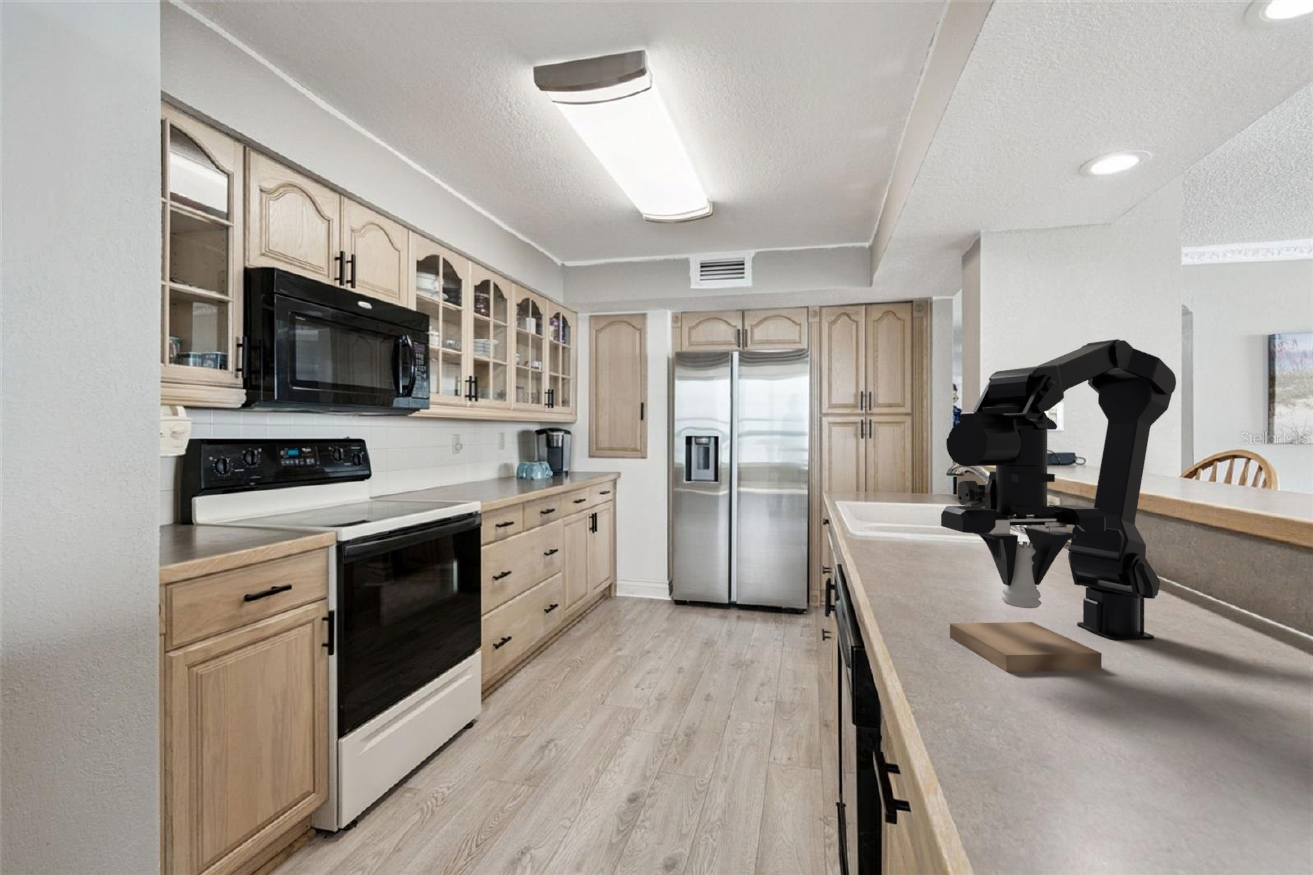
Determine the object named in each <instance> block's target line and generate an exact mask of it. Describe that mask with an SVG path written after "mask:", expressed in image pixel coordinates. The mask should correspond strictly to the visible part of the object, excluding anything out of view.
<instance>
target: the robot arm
mask: <svg viewBox="0 0 1313 875" xmlns="http://www.w3.org/2000/svg"><path fill="white" fill-rule="evenodd" d="M988 381H989V382H988V383H987V384H986V385H985V388H984V389H983V392H982V394H981V396H980V397H979V399H978V401H977V403H976V405H975V406H974V408H973V411H963V412H961V413H960V421H959V422H958V423H957V424H955V425H954V426H953V427H952V429H951V430H950V432H949V434H948V437H946V450H947V453H948V455H949V457H950V458H951V460H952V461H953V462H954V463H956V464H957V465H959V466H961V467H967V468H969V467H991V466H992V467H993V466H994V467H995V471H993V470H992V471H989V474H988V476H987V477H988V478H987V479H988V480H987V483H986V484H978V483H977V481H976V480H962V481H960V482H958V484H957V498H958V499H957V500H958V504H960V505H946V506H945V508H944V509H943V511H942V512H941V514H940V526H941V527H943V528H947V529H949V530H953V531H957V532H960V533H965V534H975V535H978V536H980V538H981V539H982V541H983V542H984V543H985V544H986V546H987V548H988V550H989V552H990V554H991V556H992V559H993V562H994V564H995V566H996V567H995V568H996V569H997V571H998V574H999V577H1000V579H1001V582H1002V584H1004V586H1006V585H1007V586H1010V585H1011V583H1012V579H1013V575H1014V567H1015V558H1016V550H1017V542H1018V541H1019V535H1017V534H1014V533H1011V526H1014V527H1015V526H1031V527H1023V530H1024V532H1025V534H1026V537H1027V538H1028V541H1029V543H1032V544H1033V548H1034V549H1035V551H1036V553H1035V554H1034V555H1033V556H1032V561H1033V562H1034V564H1033V565H1032V573H1033V579H1034V583H1035V585H1036V586H1040V584H1041V583H1042V581H1043V580H1044V578H1045V577H1046V574H1047V573H1048V572H1049V569H1050V568H1051V566H1052V564H1053V563H1054V561H1055V559H1056V558H1057V557H1058V555H1059V553H1060V552H1061V551H1062V549H1064V547H1065V545H1066V544H1067V543H1068V541H1069V540H1071V542H1070V544H1069V547H1068V549H1067V551H1068V555H1067V556H1068V557H1067V558H1068V559H1067V560H1068V564H1069V568H1070V572H1071V576H1072V580H1073V585H1074V586H1078V587H1079V586H1082V587H1085V597H1084V598H1083V600H1082V601H1083V604H1082V609H1083V610H1082V611H1083V612H1082V613H1083V615H1082V618H1083V619H1082V621H1077V622H1076V626H1077V627H1080V628H1082V629H1084V630H1086V631H1089V632H1091V633H1094V634H1096V635H1098V636H1101V637H1104V638H1105V639H1108V640H1111V641H1124V640H1125V641H1126V640H1127V641H1133V640H1154V639H1155V634H1151V633H1148V632H1145V599H1150V600H1154V599H1156V596H1158V594H1159V590H1160V585H1161V580H1160V578H1159V577H1158V575H1157V574H1156V572H1155V570H1154V569H1153V568H1152V566H1151V564H1150V563H1149V561H1148V560H1147V559H1146V553H1147V552H1146V551H1147V548H1146V547H1147V544H1146V542H1145V541H1144V539H1143V537H1142V535H1141V534H1140V532H1139V530H1138V528H1137V526H1136V517H1137V511H1138V506H1139V499H1140V493H1141V486H1142V481H1143V474H1144V469H1145V468H1144V467H1145V463H1146V462H1145V461H1146V456H1147V455H1146V454H1147V449H1148V442H1149V438H1150V437H1149V436H1150V430H1151V427H1152V425H1153V424H1154V423H1155V422H1157V421H1158V419H1160V417H1161V416H1162V415H1164V414H1165V413H1166V412H1167V411H1168V409H1169V406H1170V403H1171V398H1172V395H1173V393H1174V392H1175V389H1176V387H1177V386H1176V385H1177V378H1176V375H1175V373H1174V371H1173V370H1172V369H1171V367H1169V366H1168V365H1167V364H1166V363H1165V362H1164V361H1163V360H1162V359H1161V358H1160V357H1158V356H1155V355H1153V354H1150V353H1148V352H1145V351H1141V350H1139V349H1136V348H1134V347H1133V346H1132V345H1131V344H1130V343H1129V342H1128V341H1126V340H1124V339H1123V340H1121V339H1119V338H1117V339H1115V338H1114V339H1110V340H1109V339H1108V340H1102V341H1094V342H1089V343H1087V344H1084V345H1082V346H1081V347H1080V348H1078V349H1075V350H1072V351H1071V352H1070V351H1069V352H1068V353H1066V354H1063V355H1059V356H1058V357H1056V358H1054V359H1051V360H1049V361H1046V362H1043V363H1041V364H1039V365H1035V366H1028V367H1020V368H1013V369H1005V370H997V371H995V372H994V373H992V374H991V375H990V376H989V378H988ZM1084 382H1087V384H1088V386H1089V387H1090V388H1091V389H1093V390H1094V391H1095V392H1096V393H1097V394H1098V395H1097V396H1098V398H1097V400H1098V401H1097V404H1098V405H1099V407H1100V409H1101V411H1102V413H1103V414H1104V416H1105V417H1106V419H1107V427H1106V430H1105V431H1106V432H1105V439H1104V444H1103V449H1102V450H1103V451H1102V456H1101V460H1100V466H1099V467H1100V468H1099V474H1098V479H1097V486H1096V492H1095V497H1094V503H1093V507H1090V506H1089V507H1088V506H1084V505H1083V506H1082V505H1079V504H1077V505H1076V504H1049V505H1048V483H1055V482H1056V481H1055V480H1056V475H1055V473H1049V472H1048V431H1049V430H1050V431H1051V430H1054V431H1056V430H1057V428H1058V425H1057V423H1056V422H1055V421H1054V420H1053V419H1051V418H1049V416H1048V415H1047V414H1046V413H1047V412H1048V411H1050V410H1051V409H1052V408H1053V407H1055V406H1056V405H1058V404H1059V403H1060V402H1062V401H1063V399H1064V398H1065V392H1066V391H1067V390H1069V389H1072V388H1074V387H1076V386H1077V385H1080V384H1082V383H1083V384H1084ZM1067 526H1073V527H1072V532H1068V527H1067Z"/></svg>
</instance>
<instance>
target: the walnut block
mask: <svg viewBox="0 0 1313 875" xmlns="http://www.w3.org/2000/svg"><path fill="white" fill-rule="evenodd" d="M949 638H950V639H951V640H953V641H954V642H956V643H957V644H959V645H961V646H962V647H964V648H965V649H967V650H969V651H970V652H972V653H974V654H976V655H978V656H979V657H981V658H982V659H984V660H986V661H988V662H989V663H990V664H992V665H994V666H996V667H997V668H999V669H1000V670H1002V671H1004V672H1006V673H1019V672H1020V673H1021V672H1023V673H1025V672H1057V671H1058V672H1059V671H1061V672H1062V671H1066V672H1067V671H1098V670H1099V671H1101V670H1102V656H1103V655H1102V654H1103V653H1102V652H1100V651H1098V650H1095V649H1093V648H1092V647H1088V646H1086V645H1084V644H1082V643H1080V642H1077V641H1075V640H1074V639H1071V638H1068V637H1067V636H1064V635H1062V634H1060V633H1058V632H1056V631H1053V630H1052V629H1049V628H1046V627H1044V626H1042V625H1040V624H1038V623H1035V622H1033V621H1019V622H1007V621H1006V622H964V623H963V622H959V623H955V622H954V623H952V622H951V623H949Z"/></svg>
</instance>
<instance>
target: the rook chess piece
mask: <svg viewBox="0 0 1313 875" xmlns="http://www.w3.org/2000/svg"><path fill="white" fill-rule="evenodd" d="M1035 553H1036V551H1035V549H1034V548H1033V544H1032V543H1030V542H1028V541H1025V540H1024V541H1022V544H1021V543H1020V541H1019V540H1018V542H1017V550H1016V558H1015V567H1014V575H1013V579H1012V583H1011V585H1010V586H1007V585H1004V587H1003V588H1002V591H1001V592H1002V593H1003V596H1002V597H1001V600H1002V601H1003V602H1004V604H1006V605H1009V606H1011V607H1013V608H1014V607H1015V608H1020V609H1021V608H1022V609H1038V608H1039V607H1040V606H1041V605H1042V601H1041V600H1039V599H1040V598H1041V597H1042V596H1041V592H1040V591H1039V589H1037V588H1038V585H1035V583H1034V579H1033V573H1032V565H1033V564H1034V562H1033V561H1032V556H1033V555H1034V554H1035Z"/></svg>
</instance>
